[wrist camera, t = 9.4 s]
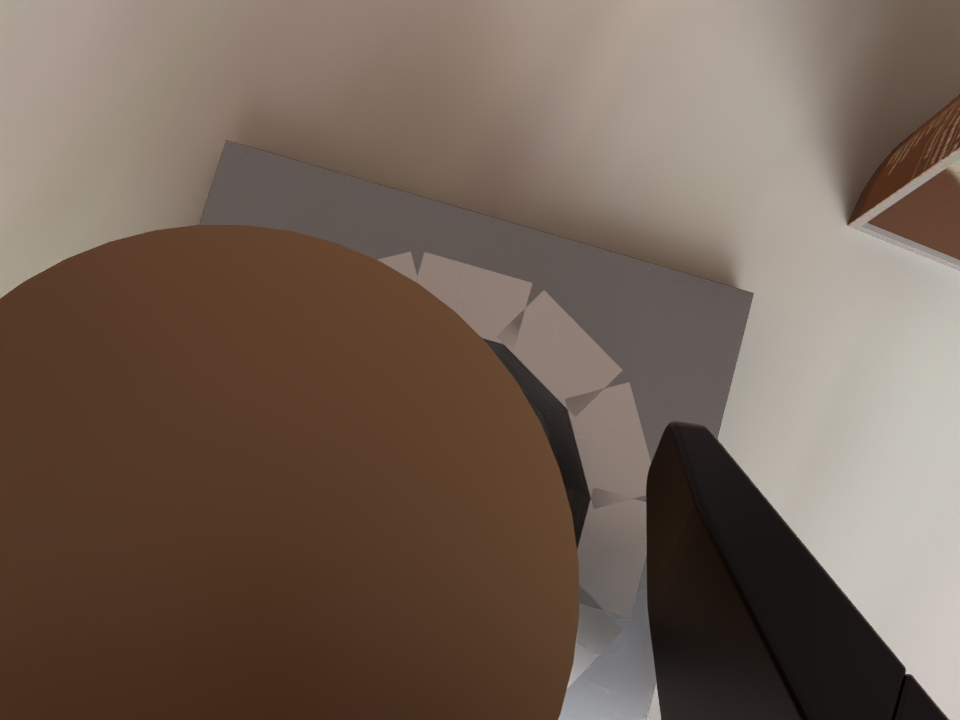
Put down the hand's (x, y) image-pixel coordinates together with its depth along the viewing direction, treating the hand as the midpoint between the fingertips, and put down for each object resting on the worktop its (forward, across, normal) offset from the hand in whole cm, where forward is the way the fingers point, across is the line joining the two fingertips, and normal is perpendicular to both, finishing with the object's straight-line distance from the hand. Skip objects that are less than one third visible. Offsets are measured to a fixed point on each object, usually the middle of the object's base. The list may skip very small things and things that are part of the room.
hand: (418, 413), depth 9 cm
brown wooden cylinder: (+5, 0, +7) cm, 8 cm away
